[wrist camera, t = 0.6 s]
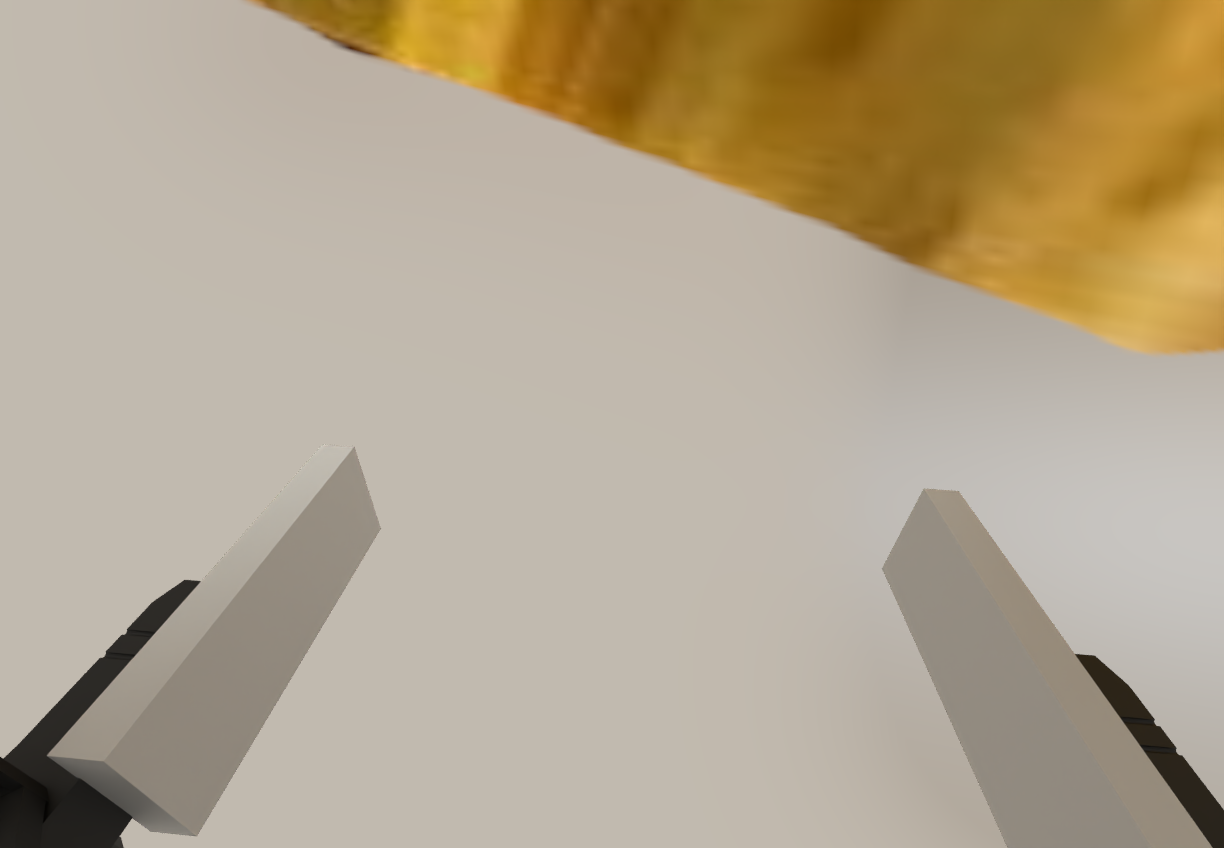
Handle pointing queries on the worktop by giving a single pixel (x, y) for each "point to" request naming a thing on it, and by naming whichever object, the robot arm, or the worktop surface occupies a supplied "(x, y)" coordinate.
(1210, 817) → the robot arm
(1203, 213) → the worktop surface
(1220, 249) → the worktop surface
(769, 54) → the worktop surface
